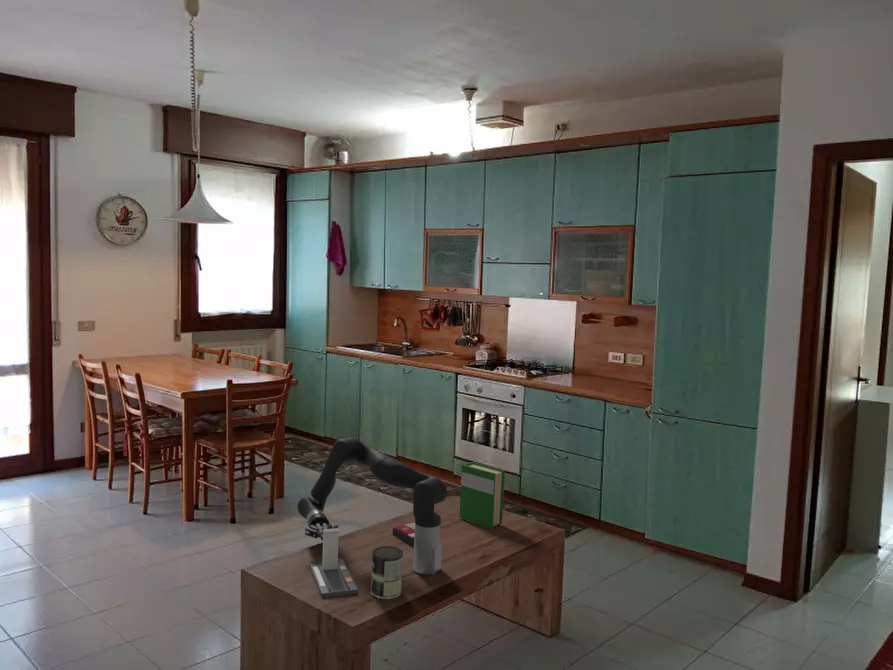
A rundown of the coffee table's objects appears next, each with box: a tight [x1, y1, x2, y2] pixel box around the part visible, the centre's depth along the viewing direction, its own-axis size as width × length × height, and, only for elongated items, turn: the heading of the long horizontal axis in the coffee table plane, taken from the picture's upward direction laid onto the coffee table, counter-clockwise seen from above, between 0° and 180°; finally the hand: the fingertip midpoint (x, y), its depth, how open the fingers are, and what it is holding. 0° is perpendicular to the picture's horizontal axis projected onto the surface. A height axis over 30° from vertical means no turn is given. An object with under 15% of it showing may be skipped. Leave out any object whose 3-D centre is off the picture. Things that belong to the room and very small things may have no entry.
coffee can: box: [370, 545, 404, 600], centre depth 243 cm, size 10×10×14 cm
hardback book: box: [459, 461, 506, 529], centre depth 313 cm, size 18×7×24 cm, turn 49°
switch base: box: [308, 558, 359, 598], centre depth 252 cm, size 26×12×2 cm, turn 20°
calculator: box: [392, 522, 415, 547], centre depth 293 cm, size 11×4×15 cm
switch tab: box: [322, 527, 340, 570], centre depth 256 cm, size 2×5×14 cm, turn 110°
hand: (325, 539), depth 263 cm, fingers closed
